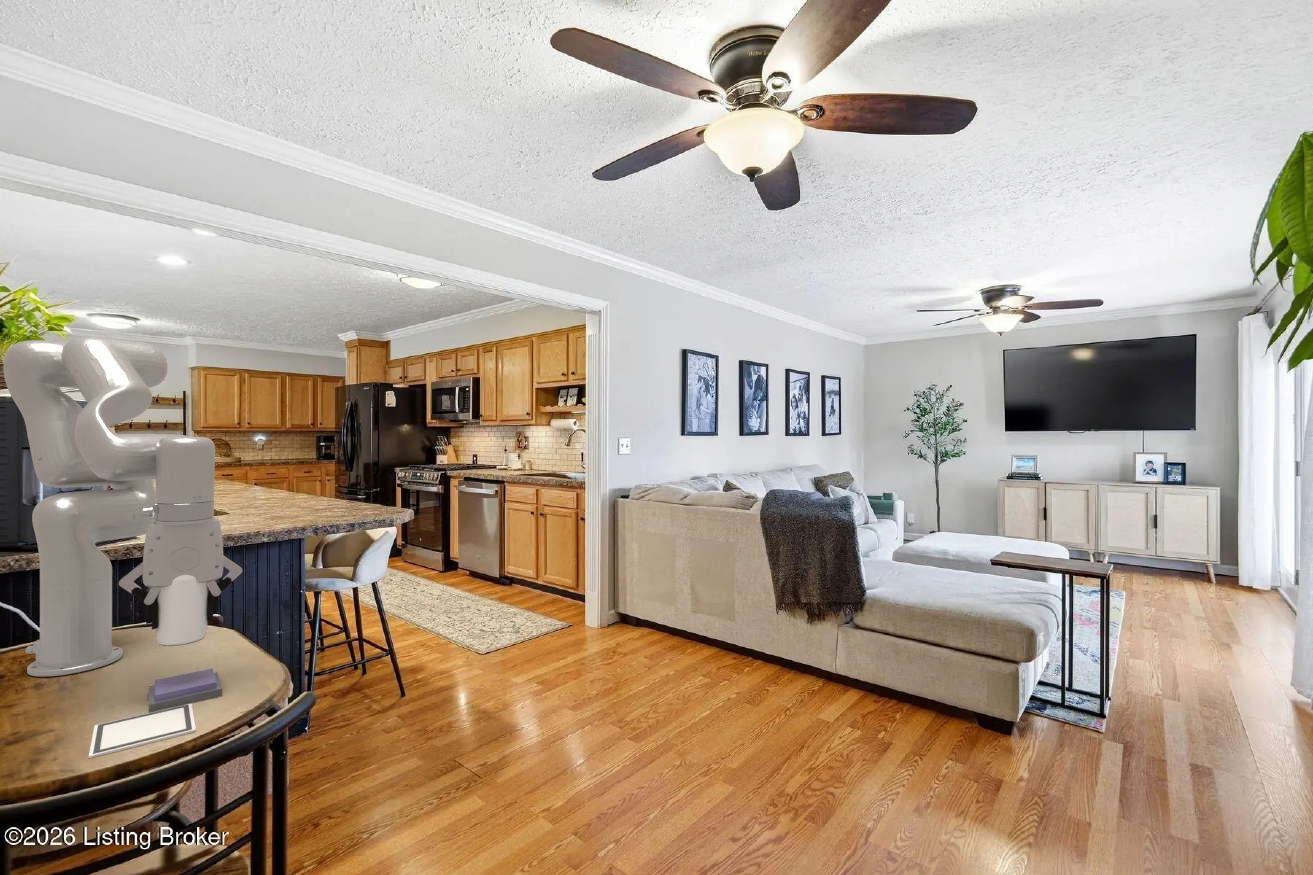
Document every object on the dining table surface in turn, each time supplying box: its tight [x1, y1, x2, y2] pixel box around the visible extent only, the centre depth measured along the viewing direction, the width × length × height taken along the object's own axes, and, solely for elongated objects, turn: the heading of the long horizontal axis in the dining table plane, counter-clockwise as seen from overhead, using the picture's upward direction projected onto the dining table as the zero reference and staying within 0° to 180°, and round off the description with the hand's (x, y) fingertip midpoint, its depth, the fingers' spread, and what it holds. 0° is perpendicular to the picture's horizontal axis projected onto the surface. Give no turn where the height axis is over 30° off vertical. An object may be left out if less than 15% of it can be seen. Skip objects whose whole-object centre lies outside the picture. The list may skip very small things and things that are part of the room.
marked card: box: [88, 703, 197, 759], centre depth 85 cm, size 11×11×1 cm
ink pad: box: [148, 668, 223, 713], centre depth 97 cm, size 9×9×2 cm
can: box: [156, 570, 209, 647], centre depth 97 cm, size 6×6×12 cm
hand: (182, 621), depth 97 cm, fingers closed on can, 6 cm apart
